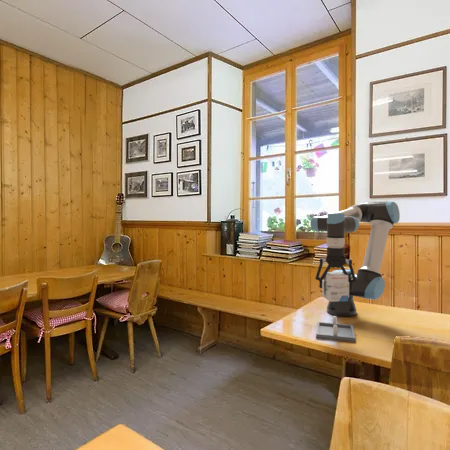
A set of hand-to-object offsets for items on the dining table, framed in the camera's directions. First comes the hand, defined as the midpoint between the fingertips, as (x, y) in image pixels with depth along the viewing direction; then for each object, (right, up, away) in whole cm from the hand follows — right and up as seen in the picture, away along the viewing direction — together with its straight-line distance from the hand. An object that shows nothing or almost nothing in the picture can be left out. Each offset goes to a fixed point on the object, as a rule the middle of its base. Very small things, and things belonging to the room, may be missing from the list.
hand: (335, 296), depth 145 cm
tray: (0, -17, +1) cm, 17 cm away
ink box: (0, -2, 0) cm, 2 cm away
